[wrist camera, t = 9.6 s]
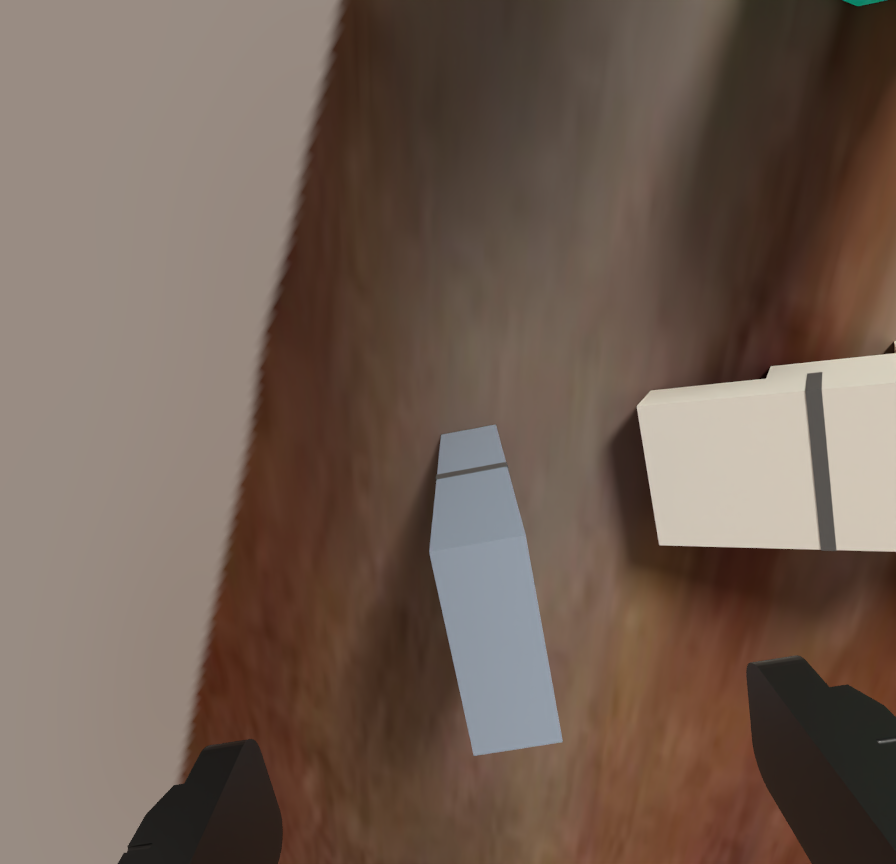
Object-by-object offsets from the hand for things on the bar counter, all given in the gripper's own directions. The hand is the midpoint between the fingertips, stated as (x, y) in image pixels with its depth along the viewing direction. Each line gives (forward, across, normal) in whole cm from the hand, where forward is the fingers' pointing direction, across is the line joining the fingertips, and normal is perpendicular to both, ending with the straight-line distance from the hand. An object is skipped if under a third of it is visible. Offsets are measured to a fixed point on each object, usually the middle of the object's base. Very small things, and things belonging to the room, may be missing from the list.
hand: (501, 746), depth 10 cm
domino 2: (+12, -6, 0) cm, 14 cm away
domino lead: (+13, 0, +1) cm, 13 cm away
